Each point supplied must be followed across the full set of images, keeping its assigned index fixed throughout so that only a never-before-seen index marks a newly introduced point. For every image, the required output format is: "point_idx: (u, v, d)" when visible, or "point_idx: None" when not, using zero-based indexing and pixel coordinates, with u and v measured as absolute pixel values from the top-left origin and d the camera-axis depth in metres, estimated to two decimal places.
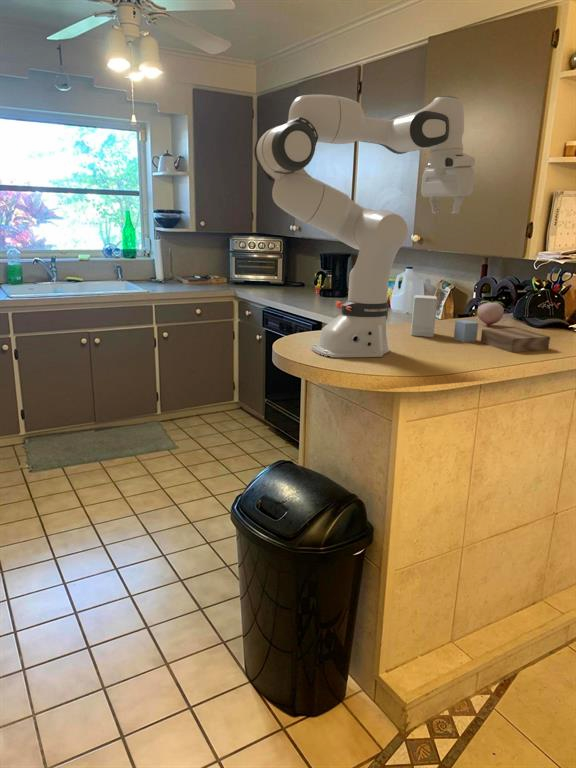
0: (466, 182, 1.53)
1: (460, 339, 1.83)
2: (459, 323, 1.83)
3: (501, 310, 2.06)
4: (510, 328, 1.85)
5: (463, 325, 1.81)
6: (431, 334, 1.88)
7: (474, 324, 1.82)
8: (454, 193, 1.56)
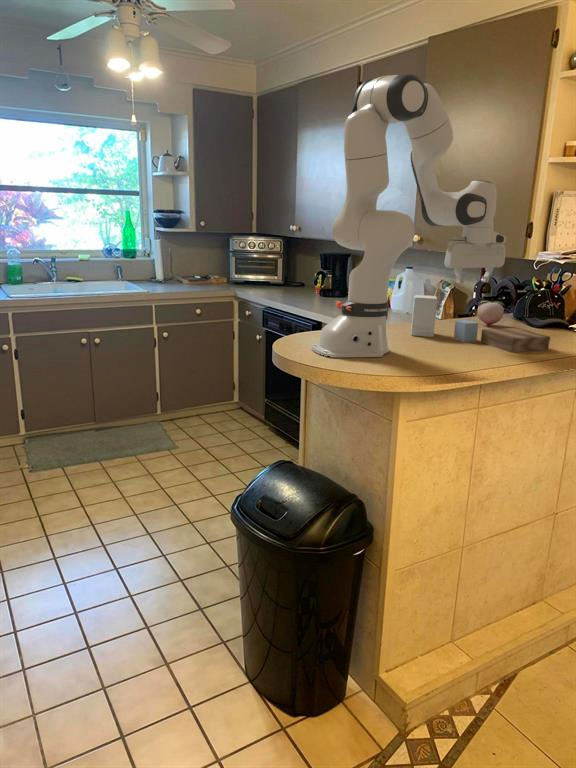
0: None
1: (460, 339, 1.83)
2: (459, 323, 1.83)
3: (501, 310, 2.06)
4: (510, 328, 1.85)
5: (463, 325, 1.82)
6: (431, 334, 1.88)
7: (474, 324, 1.82)
8: (495, 265, 1.79)
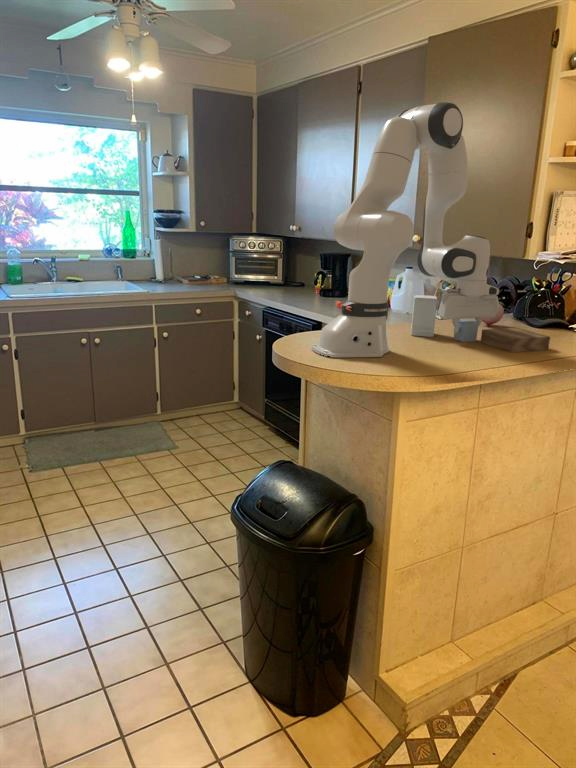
0: None
1: (460, 339, 1.83)
2: (459, 323, 1.83)
3: (501, 310, 2.06)
4: (510, 328, 1.85)
5: (463, 325, 1.81)
6: (431, 334, 1.88)
7: (474, 324, 1.82)
8: (488, 315, 1.84)
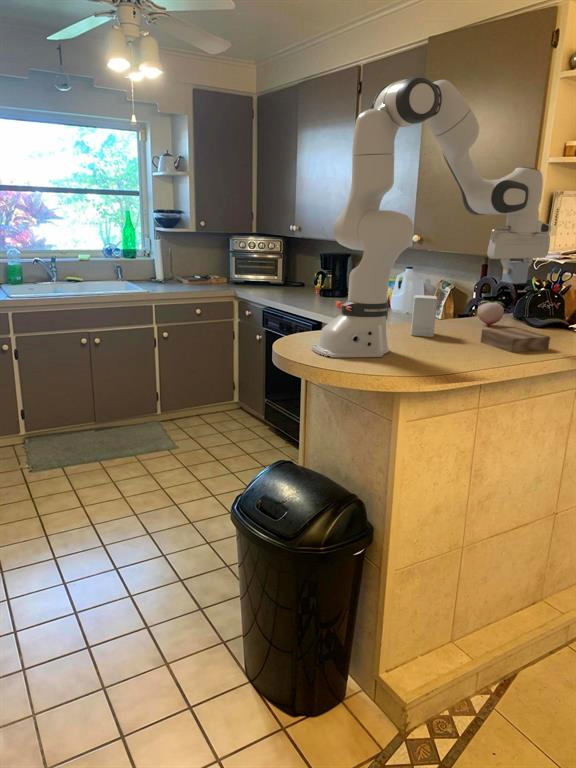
0: None
1: (509, 281, 1.73)
2: (508, 264, 1.73)
3: (501, 310, 2.06)
4: (510, 328, 1.85)
5: (513, 265, 1.71)
6: (431, 334, 1.88)
7: (525, 264, 1.71)
8: (539, 255, 1.73)
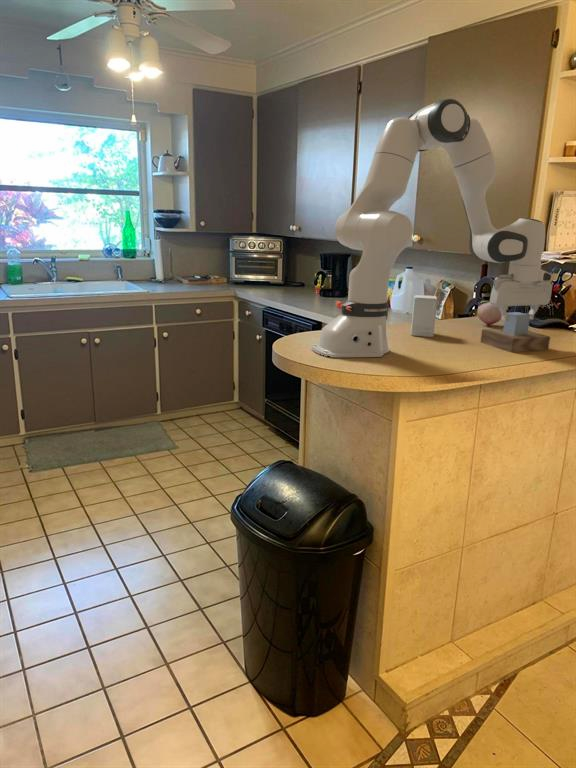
0: None
1: (511, 332, 1.76)
2: (510, 315, 1.76)
3: None
4: None
5: (514, 317, 1.74)
6: (431, 334, 1.88)
7: (526, 317, 1.74)
8: (541, 303, 1.76)
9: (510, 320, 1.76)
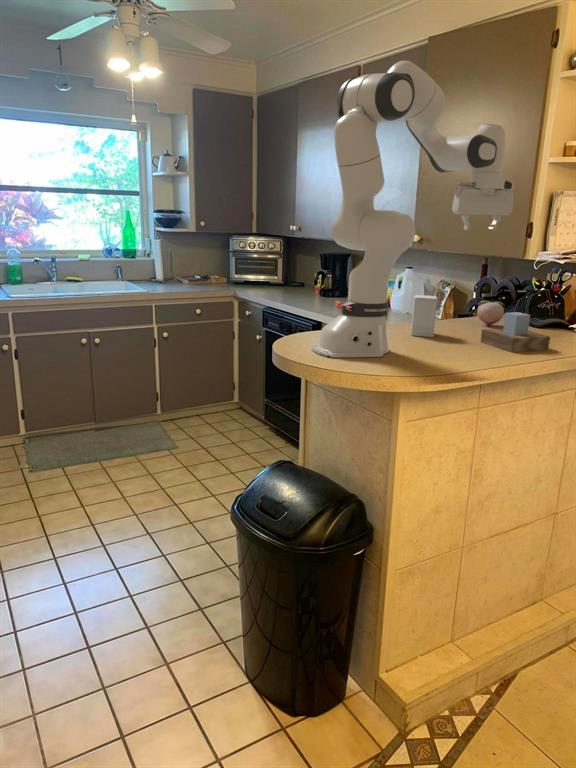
0: None
1: (511, 332, 1.76)
2: (510, 315, 1.76)
3: (501, 310, 2.06)
4: None
5: (514, 317, 1.74)
6: (431, 334, 1.88)
7: (526, 317, 1.74)
8: (503, 212, 1.78)
9: (510, 320, 1.76)
